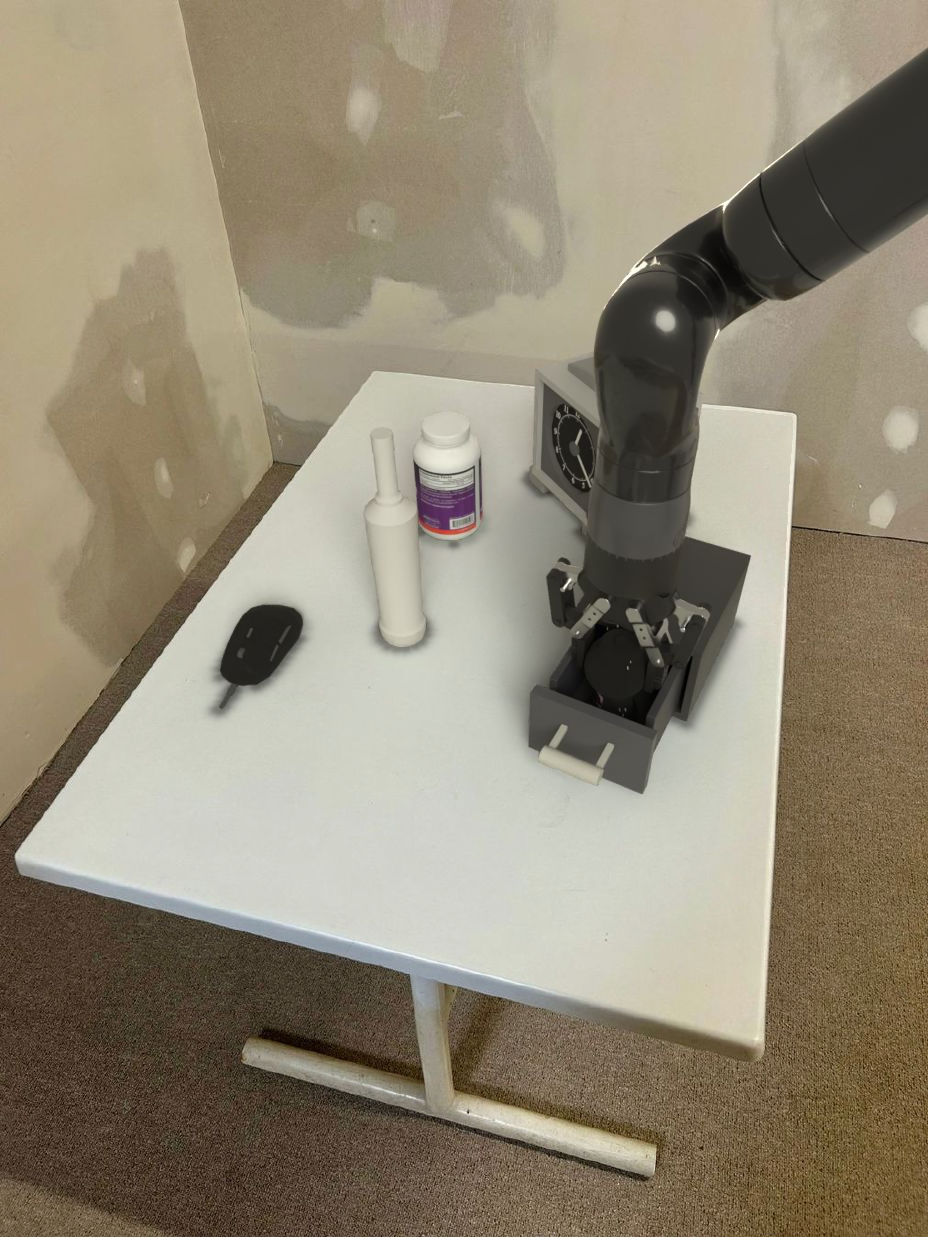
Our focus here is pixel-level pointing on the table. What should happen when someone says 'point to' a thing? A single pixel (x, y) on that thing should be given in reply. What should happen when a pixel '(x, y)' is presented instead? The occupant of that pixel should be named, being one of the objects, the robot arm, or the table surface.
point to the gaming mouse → (259, 644)
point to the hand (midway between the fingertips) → (616, 673)
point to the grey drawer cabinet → (712, 581)
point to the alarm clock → (567, 431)
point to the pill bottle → (448, 477)
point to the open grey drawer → (599, 726)
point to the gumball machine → (616, 672)
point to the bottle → (394, 549)
